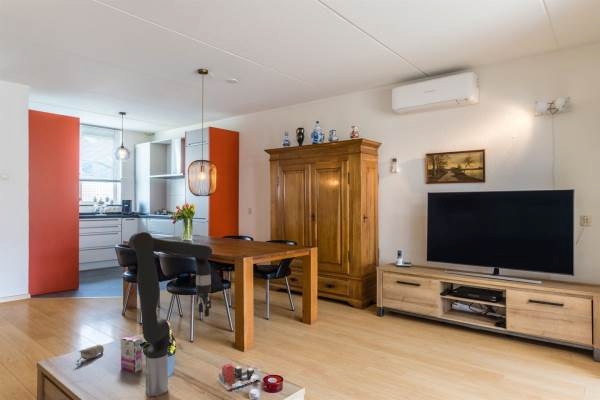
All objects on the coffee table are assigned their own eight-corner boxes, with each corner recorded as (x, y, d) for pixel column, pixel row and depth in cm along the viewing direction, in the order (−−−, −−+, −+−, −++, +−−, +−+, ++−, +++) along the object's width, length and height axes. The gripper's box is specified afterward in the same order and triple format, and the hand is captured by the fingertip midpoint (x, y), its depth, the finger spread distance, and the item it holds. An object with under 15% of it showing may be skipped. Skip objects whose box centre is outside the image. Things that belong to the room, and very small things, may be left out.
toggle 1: (237, 376, 187) (237, 369, 187) (234, 374, 189) (234, 366, 189) (241, 375, 188) (241, 367, 188) (239, 373, 190) (239, 365, 190)
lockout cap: (225, 381, 182) (225, 368, 182) (222, 378, 186) (222, 365, 186) (234, 379, 185) (234, 366, 185) (230, 375, 188) (230, 362, 188)
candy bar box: (142, 369, 199) (142, 338, 199) (134, 373, 195) (134, 341, 194) (128, 365, 204) (128, 335, 204) (120, 368, 200) (120, 338, 200)
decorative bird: (106, 353, 220) (106, 341, 220) (82, 365, 204) (82, 352, 204) (99, 352, 221) (99, 340, 221) (75, 364, 206) (74, 350, 206)
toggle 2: (249, 378, 184) (249, 370, 184) (246, 376, 187) (246, 368, 187) (254, 377, 186) (254, 369, 186) (251, 375, 188) (251, 367, 188)
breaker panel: (227, 390, 176) (227, 382, 176) (217, 380, 186) (217, 373, 186) (259, 380, 186) (259, 372, 186) (248, 371, 196) (248, 364, 196)
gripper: (215, 284, 191) (215, 316, 192) (205, 279, 203) (205, 309, 203) (201, 286, 187) (201, 319, 187) (191, 281, 199) (191, 312, 199)
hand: (203, 314), depth 195 cm, fingers open, 8 cm apart
